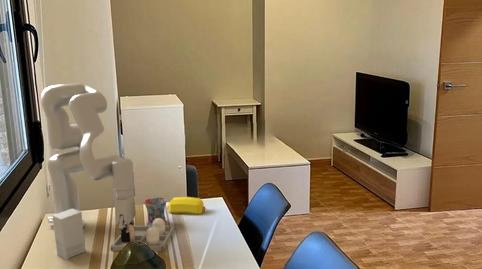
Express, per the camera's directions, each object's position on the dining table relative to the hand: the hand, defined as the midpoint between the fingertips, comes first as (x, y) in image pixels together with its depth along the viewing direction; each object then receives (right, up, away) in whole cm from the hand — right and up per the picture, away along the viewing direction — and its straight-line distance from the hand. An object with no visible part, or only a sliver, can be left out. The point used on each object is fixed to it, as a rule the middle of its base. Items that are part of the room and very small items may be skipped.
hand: (128, 238), depth 172 cm
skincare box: (-20, -5, -4) cm, 21 cm away
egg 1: (0, -1, 0) cm, 1 cm away
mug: (+7, +1, +21) cm, 23 cm away
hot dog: (+18, +4, +35) cm, 39 cm away
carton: (+5, -2, +5) cm, 7 cm away
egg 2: (+10, -1, +9) cm, 13 cm away
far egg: (+9, -2, 0) cm, 10 cm away
